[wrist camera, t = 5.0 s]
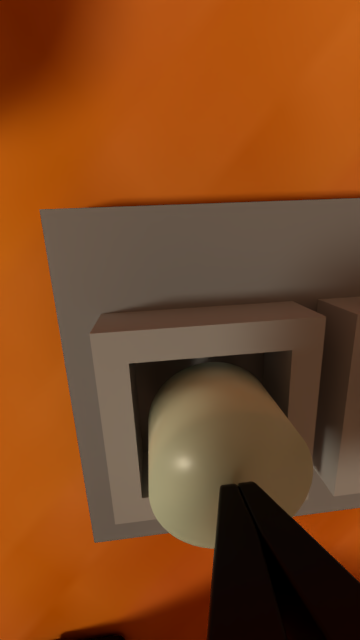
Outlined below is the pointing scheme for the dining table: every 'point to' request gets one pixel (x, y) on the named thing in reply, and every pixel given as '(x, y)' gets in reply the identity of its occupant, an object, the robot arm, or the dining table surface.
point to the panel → (207, 331)
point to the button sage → (219, 448)
